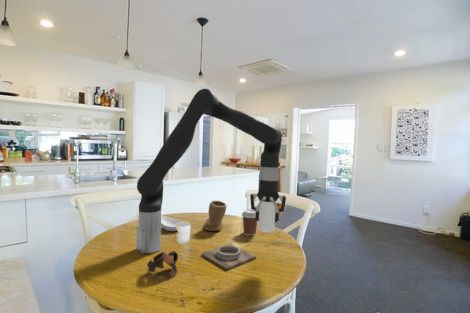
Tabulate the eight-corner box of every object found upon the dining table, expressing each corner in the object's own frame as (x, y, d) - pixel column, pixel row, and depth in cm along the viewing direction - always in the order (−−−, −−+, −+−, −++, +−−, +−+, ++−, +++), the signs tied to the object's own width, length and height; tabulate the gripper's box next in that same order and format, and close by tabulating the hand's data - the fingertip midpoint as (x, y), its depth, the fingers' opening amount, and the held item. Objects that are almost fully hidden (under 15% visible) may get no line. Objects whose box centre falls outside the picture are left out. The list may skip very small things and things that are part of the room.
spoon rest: (187, 227, 140) (187, 215, 140) (176, 234, 129) (177, 221, 128) (150, 222, 147) (150, 210, 146) (137, 229, 135) (137, 215, 135)
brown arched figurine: (168, 284, 84) (156, 263, 84) (151, 288, 89) (139, 268, 88) (188, 261, 95) (177, 242, 94) (171, 265, 99) (161, 248, 99)
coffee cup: (261, 232, 135) (262, 210, 135) (253, 238, 127) (254, 214, 127) (246, 229, 140) (247, 207, 139) (237, 234, 132) (238, 211, 132)
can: (263, 234, 95) (265, 202, 94) (254, 228, 100) (256, 198, 100) (278, 232, 98) (279, 201, 97) (268, 226, 103) (269, 197, 103)
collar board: (226, 270, 94) (226, 262, 94) (201, 255, 106) (201, 248, 105) (255, 258, 105) (256, 251, 105) (230, 246, 116) (230, 239, 116)
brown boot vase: (224, 233, 133) (225, 204, 132) (202, 232, 133) (203, 203, 133) (226, 224, 148) (227, 198, 148) (206, 223, 149) (207, 197, 148)
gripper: (287, 178, 101) (284, 219, 102) (250, 176, 103) (249, 217, 103) (288, 181, 93) (286, 225, 94) (249, 178, 95) (247, 222, 96)
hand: (266, 221), depth 99 cm, fingers closed on can, 6 cm apart
